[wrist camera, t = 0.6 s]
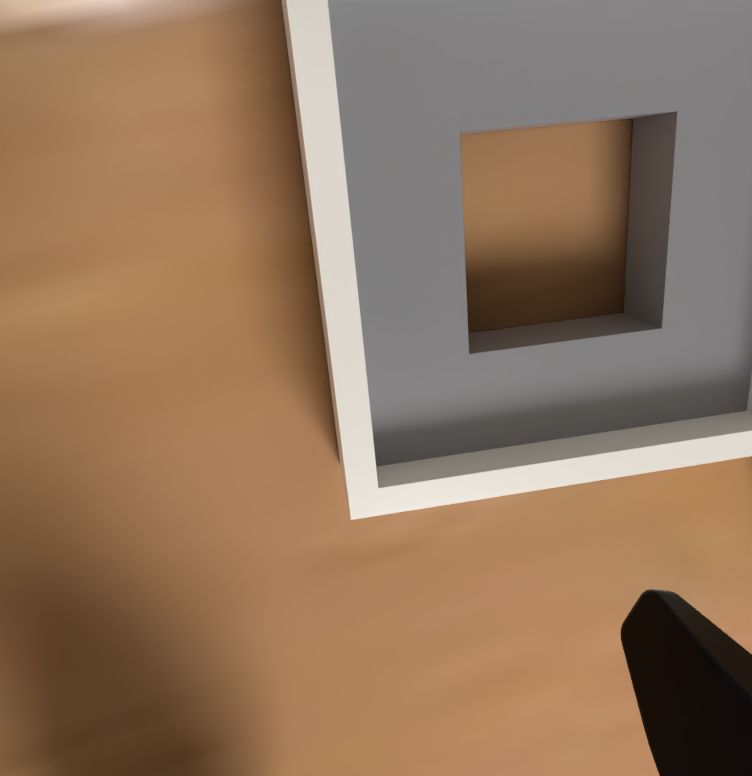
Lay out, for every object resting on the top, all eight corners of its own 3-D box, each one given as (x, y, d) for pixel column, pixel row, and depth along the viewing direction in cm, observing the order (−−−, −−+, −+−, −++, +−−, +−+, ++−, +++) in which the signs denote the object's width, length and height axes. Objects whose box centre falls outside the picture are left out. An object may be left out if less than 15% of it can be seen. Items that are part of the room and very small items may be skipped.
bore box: (723, 407, 25) (799, 448, 21) (340, 464, 23) (351, 519, 20) (774, -49, 20) (890, -102, 16) (279, -16, 18) (277, -67, 14)
